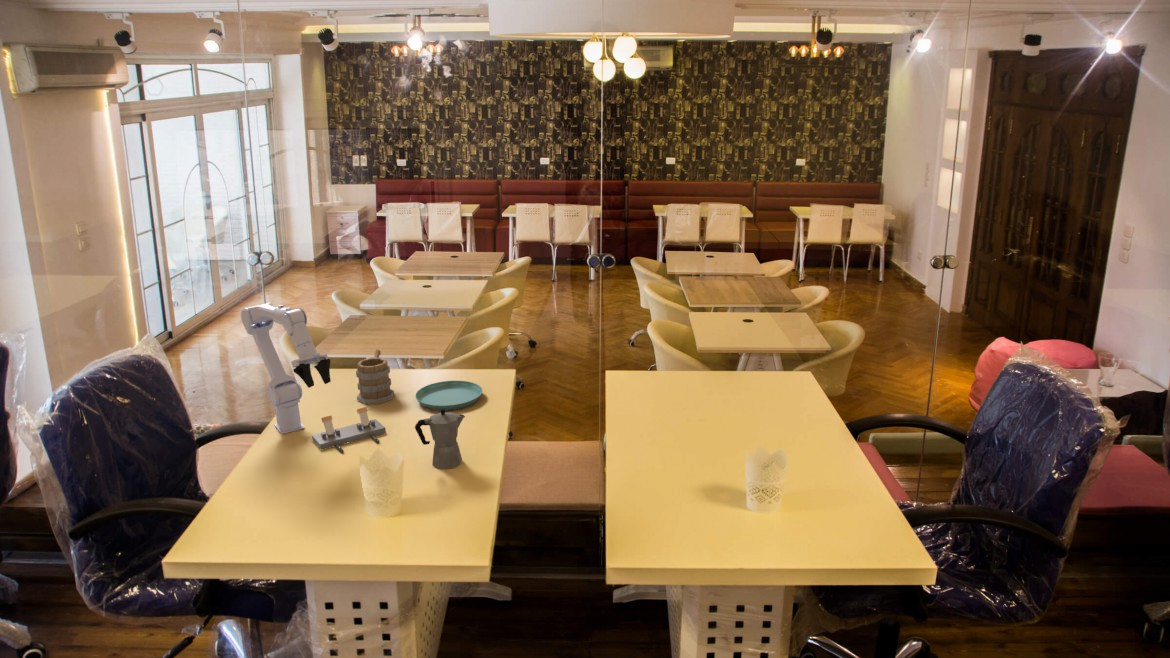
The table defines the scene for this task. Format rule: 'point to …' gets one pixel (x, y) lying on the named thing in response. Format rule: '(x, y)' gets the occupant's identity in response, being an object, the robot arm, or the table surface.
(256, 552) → the table surface
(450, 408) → the saucer
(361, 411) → the lever
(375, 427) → the breaker block
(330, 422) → the lever
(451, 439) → the coffeepot
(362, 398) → the tankard
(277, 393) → the robot arm
